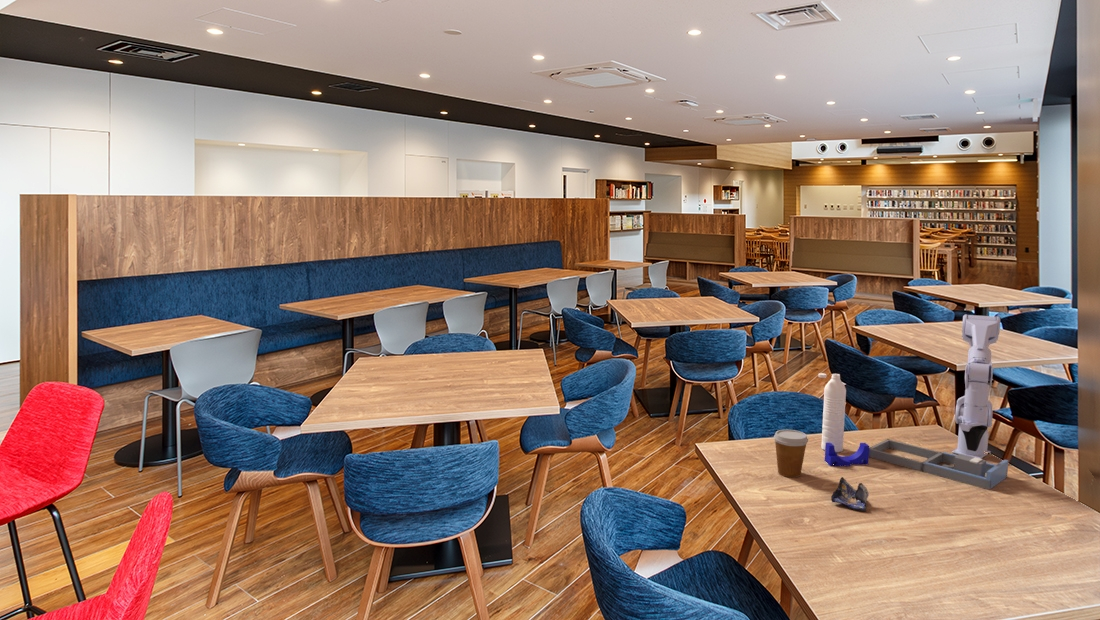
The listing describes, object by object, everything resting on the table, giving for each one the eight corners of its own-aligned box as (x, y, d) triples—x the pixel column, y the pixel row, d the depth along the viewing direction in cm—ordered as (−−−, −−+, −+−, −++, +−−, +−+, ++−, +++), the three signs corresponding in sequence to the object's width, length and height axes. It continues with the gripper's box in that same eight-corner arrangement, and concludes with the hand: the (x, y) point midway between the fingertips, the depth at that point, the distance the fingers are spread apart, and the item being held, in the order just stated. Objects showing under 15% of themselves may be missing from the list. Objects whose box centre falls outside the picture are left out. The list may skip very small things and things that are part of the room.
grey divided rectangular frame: (887, 446, 220) (888, 431, 219) (1007, 477, 194) (1008, 460, 193) (866, 456, 211) (867, 441, 210) (989, 489, 185) (990, 472, 184)
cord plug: (944, 466, 202) (946, 450, 201) (985, 477, 194) (986, 460, 193) (939, 470, 199) (940, 453, 199) (979, 480, 191) (981, 463, 190)
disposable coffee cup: (767, 468, 202) (768, 429, 200) (797, 466, 203) (799, 428, 201) (780, 480, 193) (782, 440, 191) (812, 479, 193) (814, 439, 192)
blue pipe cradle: (830, 466, 203) (831, 447, 202) (824, 461, 208) (825, 442, 207) (870, 466, 203) (871, 447, 202) (863, 461, 207) (865, 442, 206)
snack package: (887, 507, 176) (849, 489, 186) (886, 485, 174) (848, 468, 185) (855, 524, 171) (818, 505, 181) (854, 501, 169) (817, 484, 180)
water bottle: (838, 445, 221) (842, 371, 217) (846, 452, 214) (850, 376, 211) (811, 445, 221) (814, 371, 217) (818, 452, 215) (822, 376, 211)
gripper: (970, 397, 199) (966, 441, 201) (950, 406, 190) (946, 451, 192) (997, 402, 194) (993, 447, 196) (978, 411, 185) (974, 458, 187)
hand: (972, 450), depth 194 cm, fingers closed
